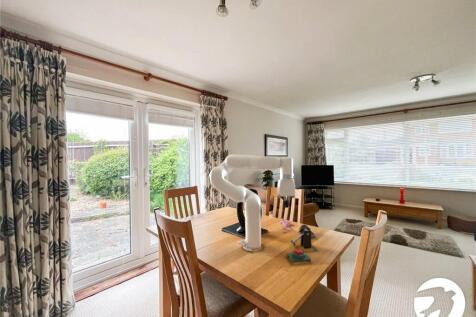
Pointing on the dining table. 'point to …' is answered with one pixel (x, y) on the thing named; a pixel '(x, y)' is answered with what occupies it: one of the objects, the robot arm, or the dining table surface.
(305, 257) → the button box
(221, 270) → the dining table surface
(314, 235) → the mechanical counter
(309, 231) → the bracket
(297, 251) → the button
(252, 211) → the robot arm
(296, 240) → the lever
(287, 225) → the lily
